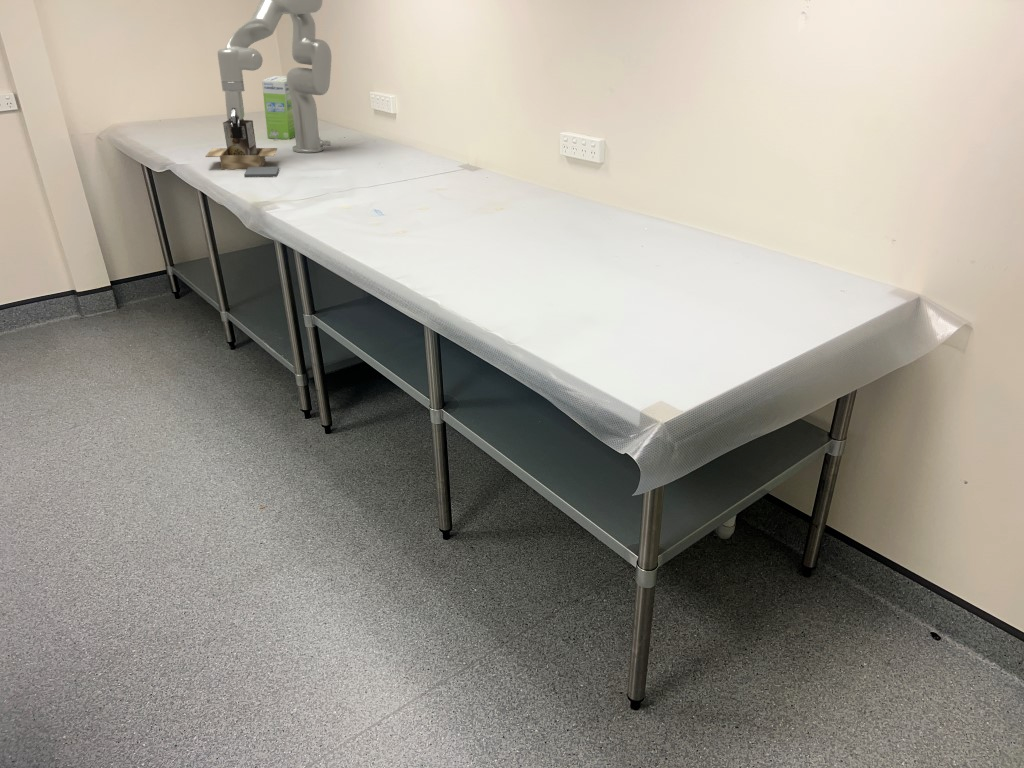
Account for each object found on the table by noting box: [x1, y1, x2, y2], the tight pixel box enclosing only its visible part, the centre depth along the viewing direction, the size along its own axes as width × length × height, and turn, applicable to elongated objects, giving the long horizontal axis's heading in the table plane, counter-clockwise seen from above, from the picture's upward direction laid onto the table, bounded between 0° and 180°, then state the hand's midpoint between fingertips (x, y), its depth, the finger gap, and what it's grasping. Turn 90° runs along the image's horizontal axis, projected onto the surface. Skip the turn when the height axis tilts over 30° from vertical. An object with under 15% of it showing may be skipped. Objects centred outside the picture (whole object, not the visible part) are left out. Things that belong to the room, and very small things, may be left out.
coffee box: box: [222, 119, 257, 156], centre depth 278 cm, size 9×6×16 cm
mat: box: [243, 166, 280, 178], centre depth 271 cm, size 11×12×1 cm
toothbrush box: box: [261, 75, 295, 140], centre depth 329 cm, size 18×10×24 cm, turn 178°
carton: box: [205, 147, 278, 170], centre depth 280 cm, size 24×14×5 cm, turn 100°
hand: (239, 135), depth 276 cm, fingers open, 9 cm apart
